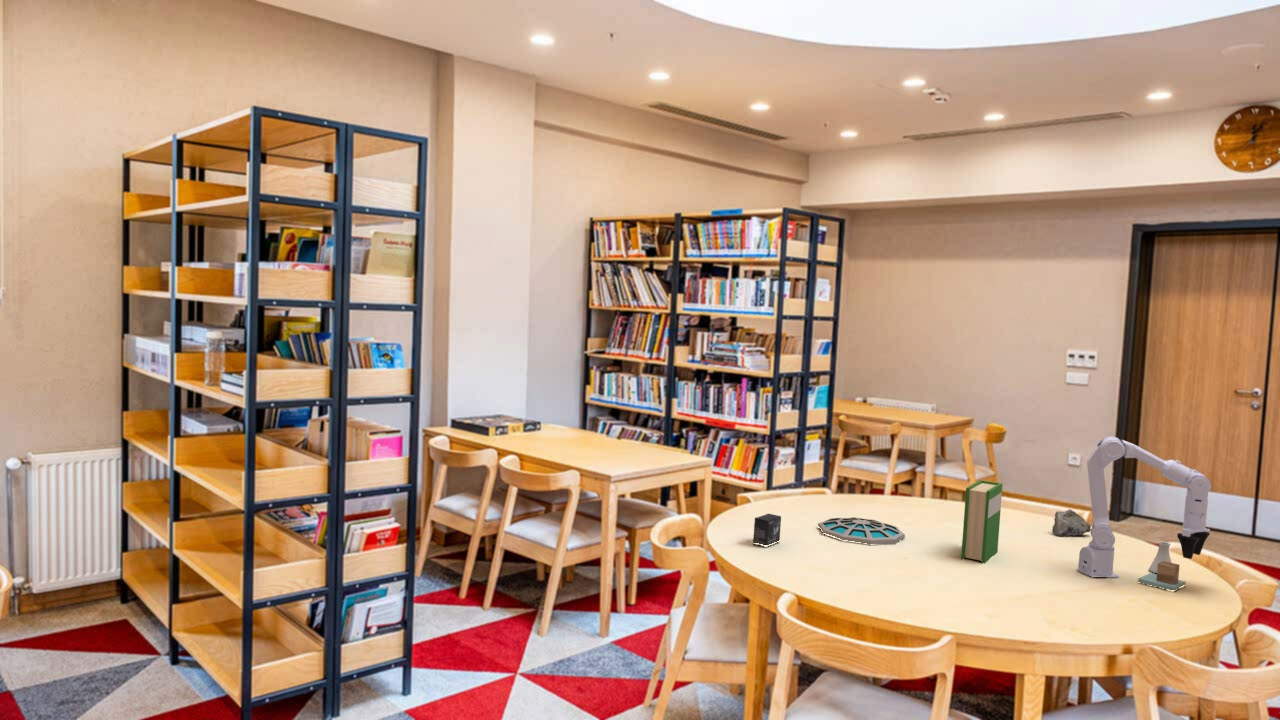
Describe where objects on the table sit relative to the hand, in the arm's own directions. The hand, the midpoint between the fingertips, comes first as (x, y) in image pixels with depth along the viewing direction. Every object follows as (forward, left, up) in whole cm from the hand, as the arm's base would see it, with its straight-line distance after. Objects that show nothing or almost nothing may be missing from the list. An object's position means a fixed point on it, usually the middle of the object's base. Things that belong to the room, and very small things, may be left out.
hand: (1191, 556), depth 263 cm
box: (-119, +51, -10) cm, 130 cm away
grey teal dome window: (-79, +63, -10) cm, 102 cm away
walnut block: (-6, +2, -8) cm, 11 cm away
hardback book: (-49, +35, -10) cm, 61 cm away
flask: (+3, +14, -10) cm, 18 cm away
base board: (-7, +3, -10) cm, 13 cm away
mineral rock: (+4, +58, -10) cm, 59 cm away
